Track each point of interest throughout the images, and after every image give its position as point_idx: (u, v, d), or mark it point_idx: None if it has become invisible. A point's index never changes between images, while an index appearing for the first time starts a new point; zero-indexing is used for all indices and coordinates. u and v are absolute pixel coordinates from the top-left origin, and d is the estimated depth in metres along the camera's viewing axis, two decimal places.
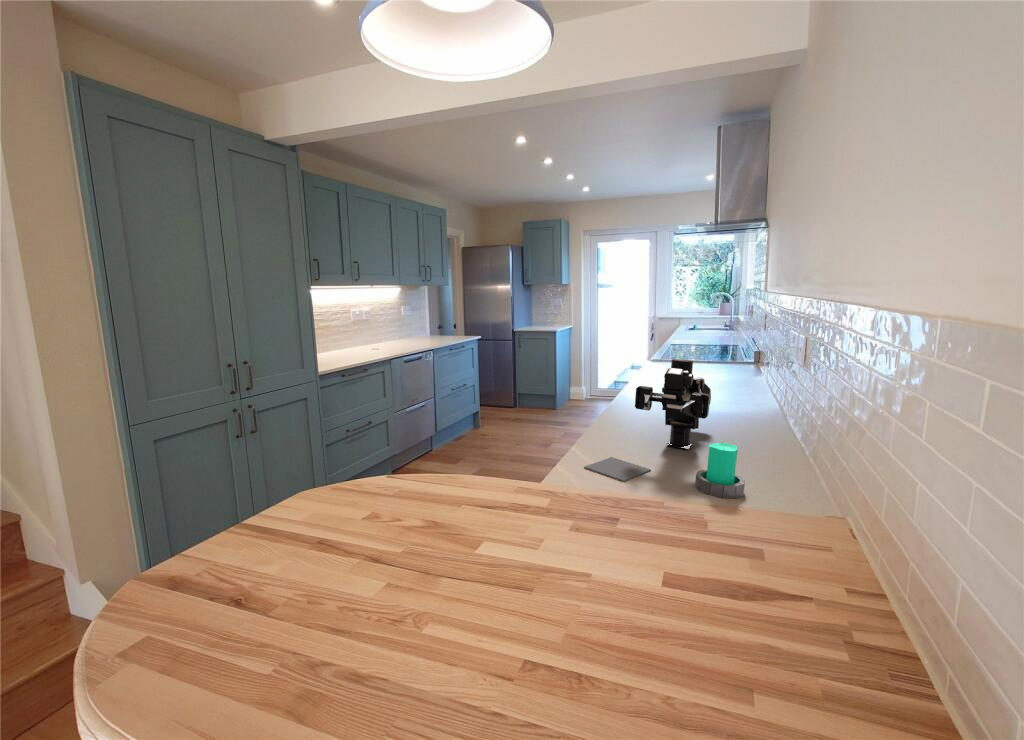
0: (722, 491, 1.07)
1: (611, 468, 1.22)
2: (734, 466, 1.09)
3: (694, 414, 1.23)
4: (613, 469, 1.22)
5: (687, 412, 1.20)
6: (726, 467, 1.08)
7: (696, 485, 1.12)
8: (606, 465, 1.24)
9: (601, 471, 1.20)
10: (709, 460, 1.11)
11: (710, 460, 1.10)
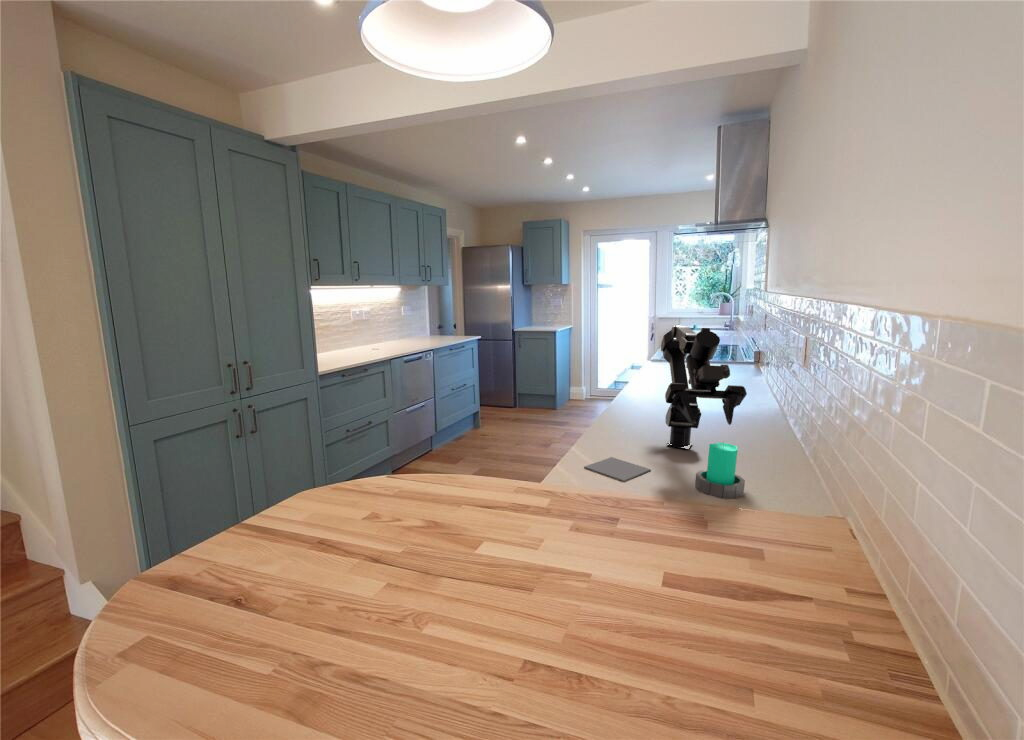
0: (722, 491, 1.07)
1: (611, 468, 1.22)
2: (734, 466, 1.09)
3: None
4: (613, 469, 1.22)
5: None
6: (726, 467, 1.08)
7: (696, 485, 1.12)
8: (606, 465, 1.24)
9: (601, 471, 1.20)
10: (709, 460, 1.11)
11: (710, 460, 1.10)
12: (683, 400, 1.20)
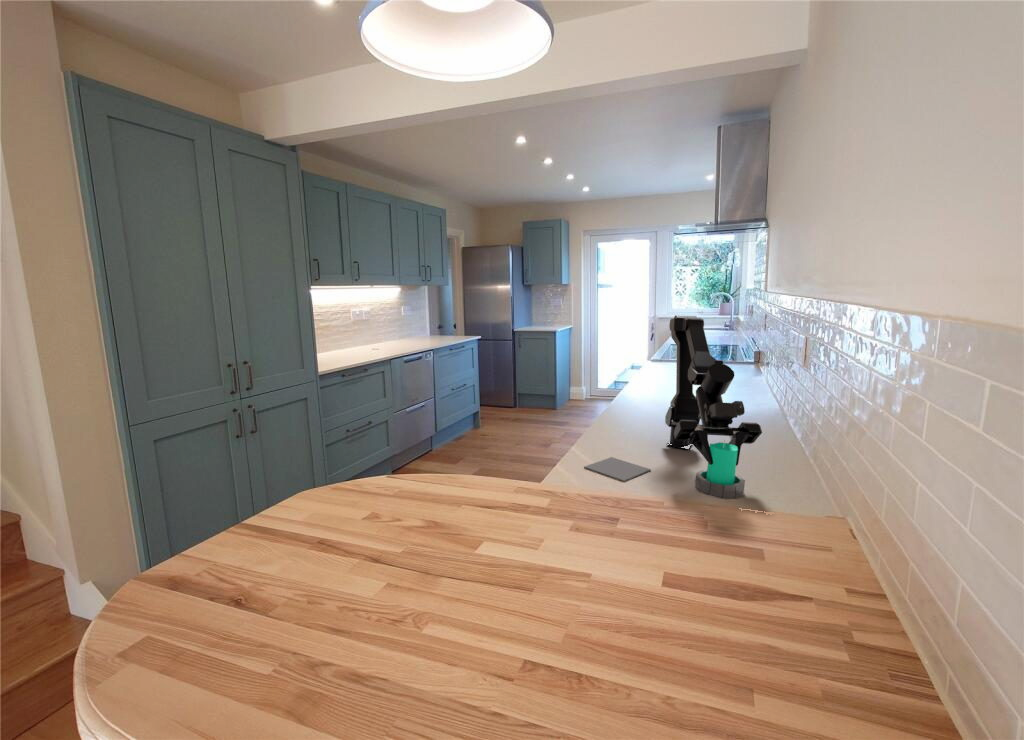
0: (722, 491, 1.07)
1: (611, 468, 1.22)
2: (734, 466, 1.09)
3: None
4: (613, 469, 1.22)
5: None
6: (726, 467, 1.08)
7: (696, 485, 1.12)
8: (606, 465, 1.24)
9: (601, 471, 1.20)
10: None
11: None
12: (702, 439, 1.11)
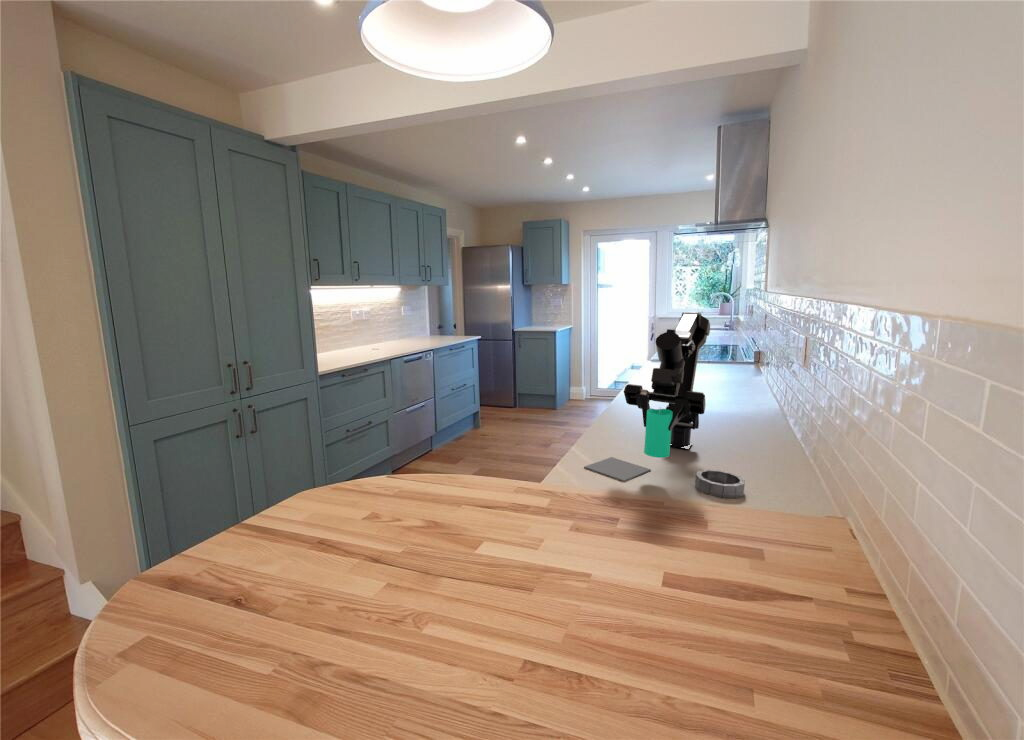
0: (722, 491, 1.07)
1: (611, 468, 1.22)
2: (665, 430, 1.12)
3: (682, 415, 1.16)
4: (613, 469, 1.22)
5: (674, 425, 1.14)
6: (655, 430, 1.12)
7: (696, 485, 1.12)
8: (606, 465, 1.24)
9: (601, 471, 1.20)
10: None
11: None
12: (641, 403, 1.17)
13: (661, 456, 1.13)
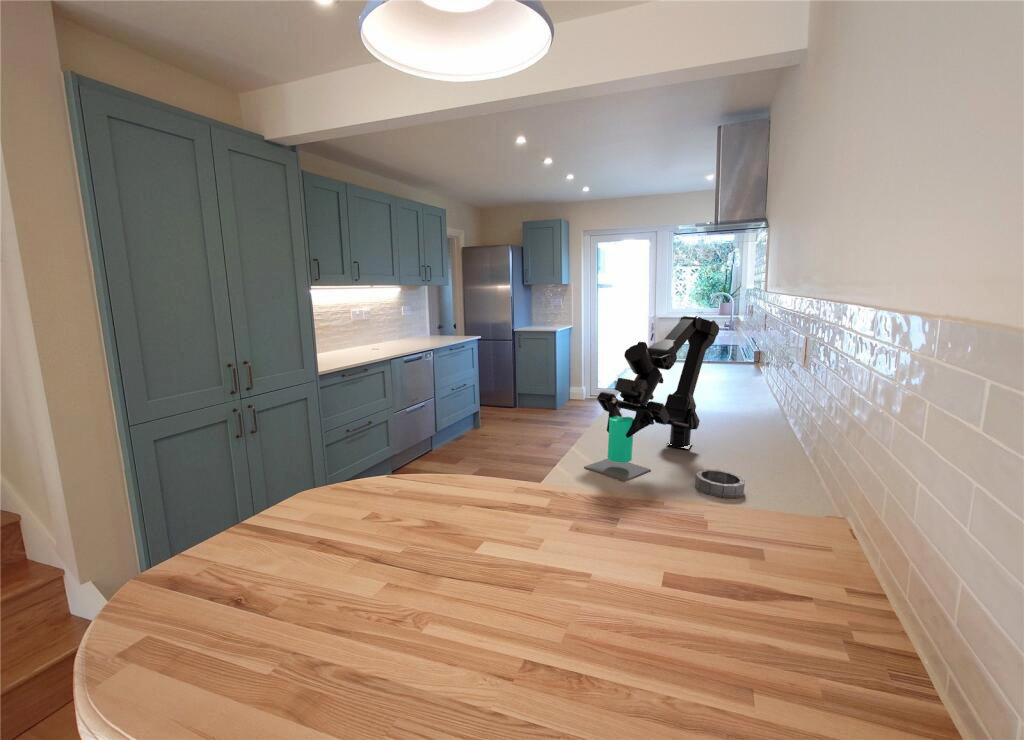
0: (722, 491, 1.07)
1: (611, 468, 1.22)
2: (623, 437, 1.19)
3: (646, 424, 1.21)
4: (613, 469, 1.22)
5: (634, 432, 1.19)
6: (613, 436, 1.20)
7: (696, 485, 1.12)
8: (606, 465, 1.24)
9: (601, 471, 1.20)
10: None
11: None
12: (609, 410, 1.25)
13: (619, 461, 1.20)
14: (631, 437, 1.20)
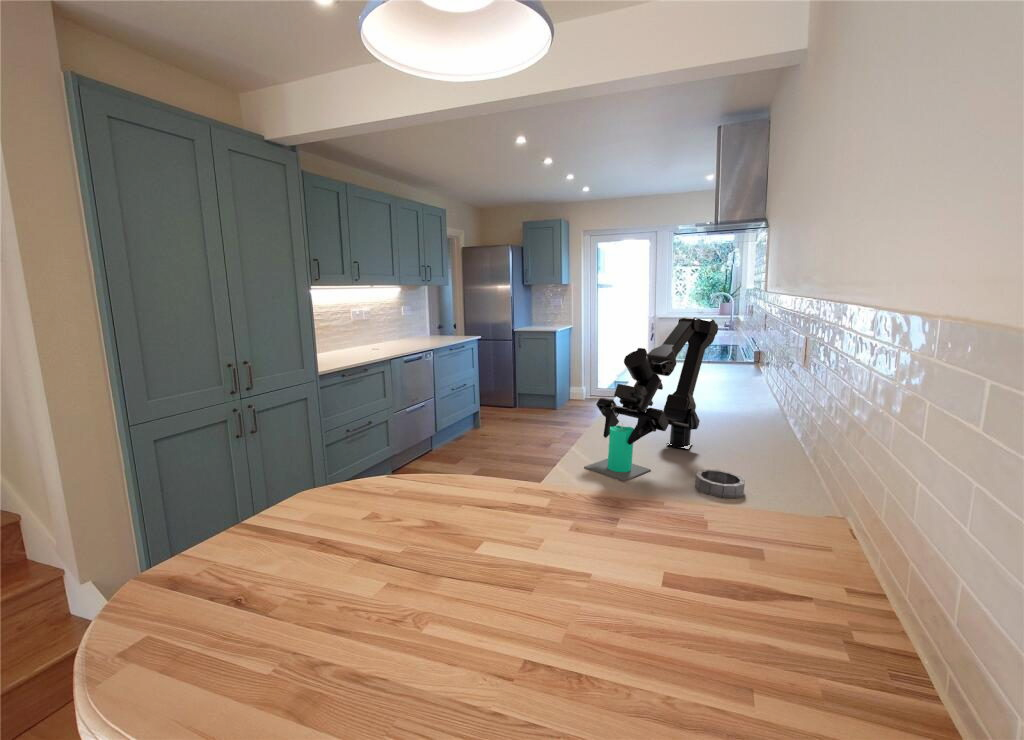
0: (722, 491, 1.07)
1: None
2: (622, 447, 1.19)
3: (648, 431, 1.20)
4: None
5: (636, 439, 1.19)
6: (613, 446, 1.20)
7: (696, 485, 1.12)
8: (606, 465, 1.24)
9: (601, 471, 1.20)
10: None
11: None
12: (606, 415, 1.26)
13: (618, 470, 1.20)
14: (631, 447, 1.20)
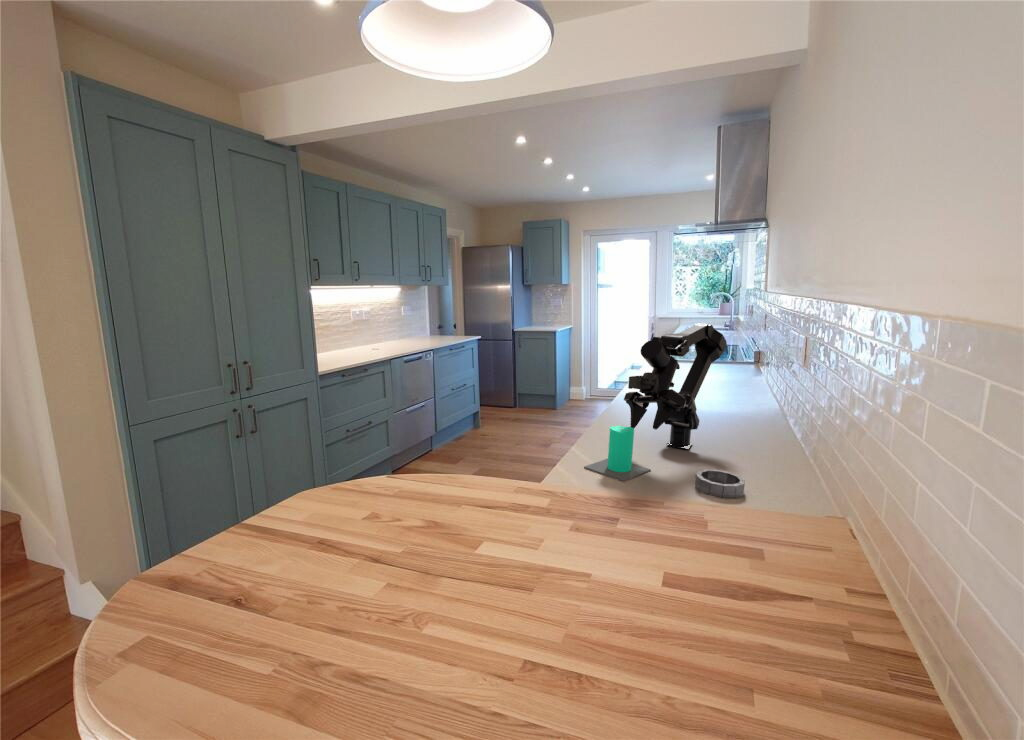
0: (722, 491, 1.07)
1: None
2: (622, 447, 1.19)
3: (672, 412, 1.24)
4: None
5: (661, 423, 1.23)
6: (613, 445, 1.20)
7: (696, 485, 1.12)
8: (606, 465, 1.24)
9: (601, 471, 1.20)
10: None
11: None
12: (630, 408, 1.34)
13: (618, 470, 1.20)
14: (631, 447, 1.20)
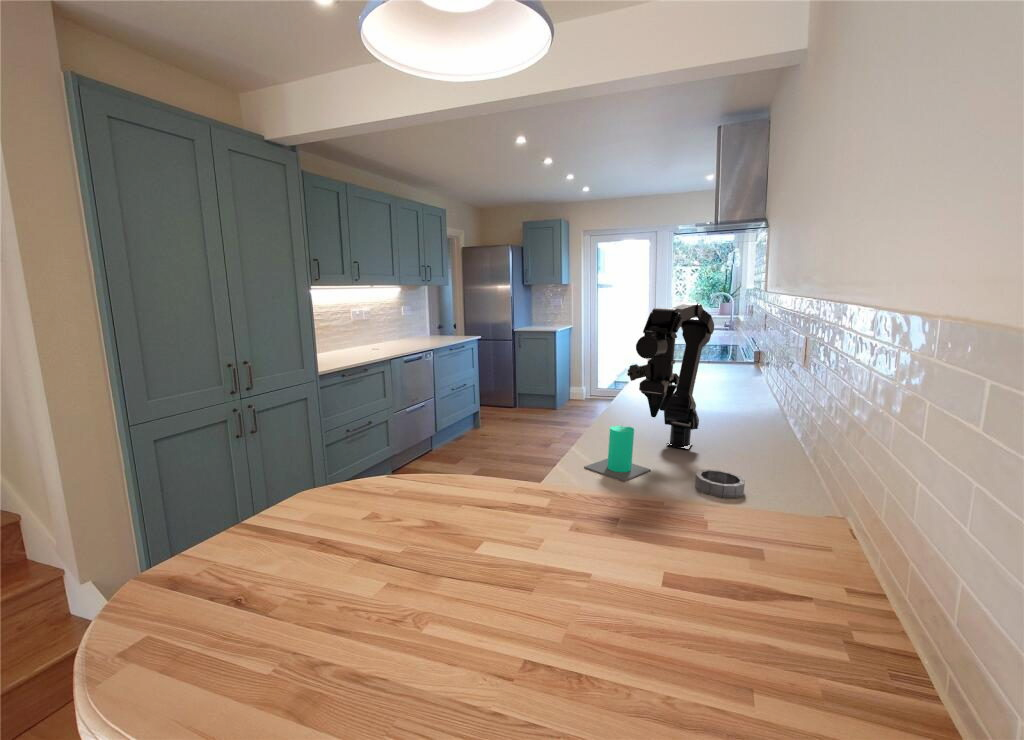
0: (722, 491, 1.07)
1: None
2: (622, 447, 1.19)
3: (661, 397, 1.22)
4: None
5: (656, 410, 1.24)
6: (613, 445, 1.20)
7: (696, 485, 1.12)
8: (606, 465, 1.24)
9: (601, 471, 1.20)
10: None
11: None
12: None
13: (618, 470, 1.20)
14: (631, 447, 1.20)
